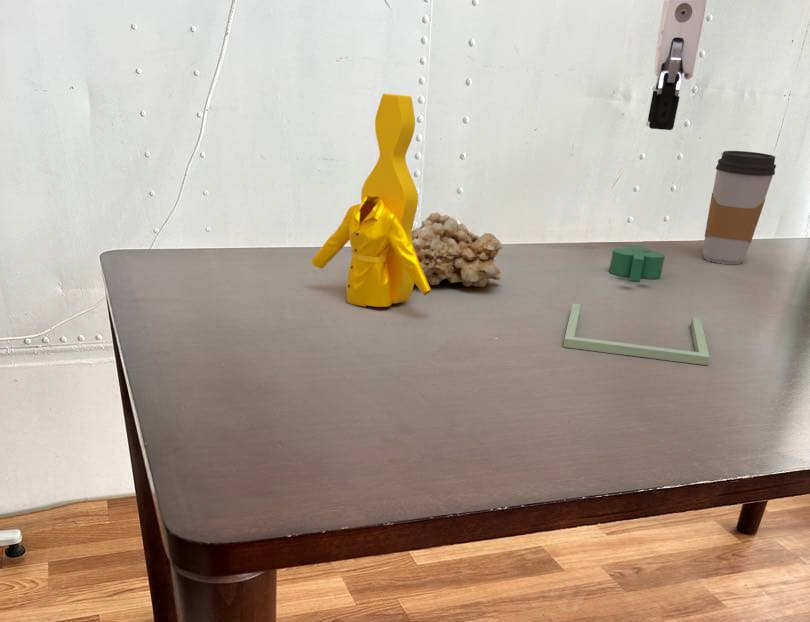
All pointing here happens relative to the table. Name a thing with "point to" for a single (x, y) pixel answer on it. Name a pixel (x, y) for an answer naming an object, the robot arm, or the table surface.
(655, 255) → the club
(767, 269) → the table surface
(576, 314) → the pocket
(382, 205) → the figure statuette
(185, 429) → the table surface
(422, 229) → the mineral formation
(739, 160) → the coffee cup
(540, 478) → the table surface
